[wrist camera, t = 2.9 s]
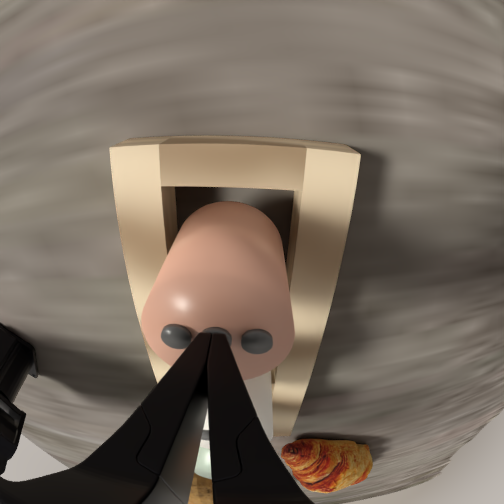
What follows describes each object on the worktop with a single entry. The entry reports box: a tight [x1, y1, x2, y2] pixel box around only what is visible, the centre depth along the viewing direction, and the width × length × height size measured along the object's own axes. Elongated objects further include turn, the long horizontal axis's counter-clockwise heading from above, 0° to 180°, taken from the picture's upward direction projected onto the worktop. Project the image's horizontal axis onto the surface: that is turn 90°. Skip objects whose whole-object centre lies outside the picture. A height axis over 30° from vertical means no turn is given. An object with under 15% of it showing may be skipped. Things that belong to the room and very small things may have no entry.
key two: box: [200, 371, 273, 449], centre depth 15 cm, size 5×5×6 cm
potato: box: [188, 472, 213, 504], centre depth 33 cm, size 10×14×8 cm
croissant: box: [281, 439, 373, 493], centre depth 30 cm, size 21×10×8 cm
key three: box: [141, 201, 295, 380], centre depth 12 cm, size 5×5×6 cm
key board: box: [110, 136, 361, 436], centre depth 19 cm, size 25×11×2 cm, turn 178°
